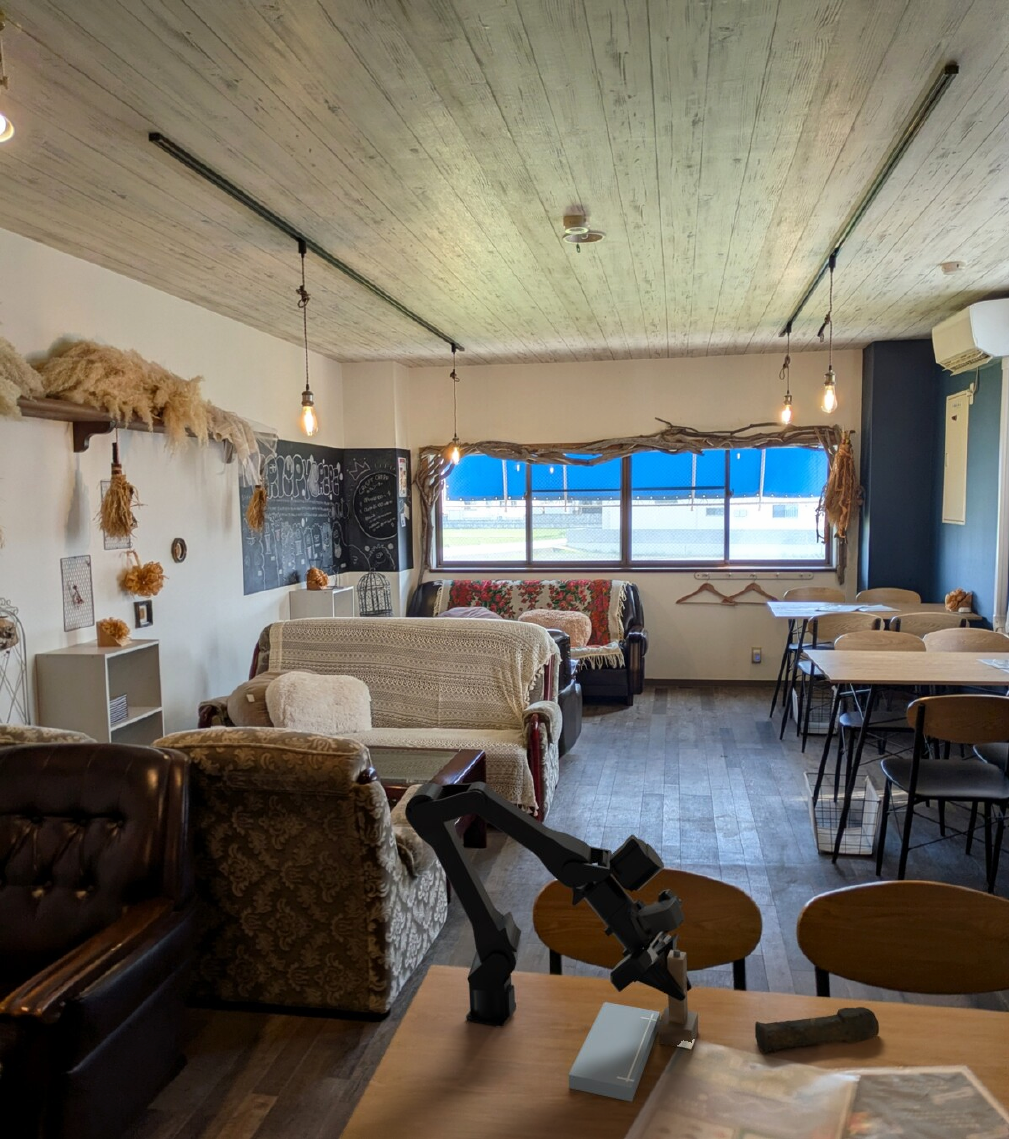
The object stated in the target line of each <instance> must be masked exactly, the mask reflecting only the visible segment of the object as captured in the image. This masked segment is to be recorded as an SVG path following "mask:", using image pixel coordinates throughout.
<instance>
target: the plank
mask: <svg viewBox="0 0 1009 1139" xmlns="http://www.w3.org/2000/svg"><path fill="white" fill-rule="evenodd" d="M660 1019H661V1012H660V1011H655V1010H650V1009H644V1008H639V1007H634V1006H628V1005H625V1004H624V1005H623V1004H616V1003H612V1002H606V1001H604V1002H603V1004H602V1007H601V1008H600V1010H599V1011H598V1013H597V1016H596V1017H595V1020H594V1022H593V1024H592V1026H591V1029H590V1030H589V1032H588V1034H587V1037H586V1039H585V1040H584V1042H583V1045H582V1047H581V1048H580V1050H579V1052H578V1054H577V1057H576V1059H575V1061H574V1063H573V1065H572V1067H571V1069H570V1071H569V1073H568V1089H571V1090H576V1091H582V1092H585V1093H589V1094H590V1093H591V1094H594V1095H595V1094H596V1095H600V1096H604V1097H609V1098H613V1099H617V1100H621V1101H622V1100H623V1101H626V1102H632V1103H633V1100H634V1098H635V1094H636V1092H637V1089H638V1086H639V1083H640V1080H641V1077H642V1075H643V1072H644V1069H645V1067H646V1064H647V1061H648V1058H649V1056H650V1053H651V1050H652V1048H653V1045H654V1043H655V1039H656V1036H657V1034H658V1033H659V1026H658V1024H659V1022H660Z"/></svg>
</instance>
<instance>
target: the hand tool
mask: <svg viewBox="0 0 1009 1139" xmlns="http://www.w3.org/2000/svg"><path fill="white" fill-rule="evenodd" d="M754 1031H755V1032H754V1033H755V1034H754V1037H755V1041H756V1044H757V1046H758V1047H759V1049H760V1051H761V1052H762V1053H764V1054H767V1053H768V1052H769V1051H772V1052H773V1053H776V1052H777V1051H778V1049H779V1050H781V1049H785V1048H786V1049H787V1048H792V1047H798V1046H799V1047H801V1046H811V1045H817V1044H822V1043H830V1042H843V1043H844V1044H847V1045H851V1044H857V1043H861V1042H864V1041H867V1040H870V1039H871V1038H873V1037H876V1036H878V1035H879V1031H880V1025H879V1020H878V1019H877V1017H876V1014H875V1012H874V1011H872V1009H871V1010H870V1009H869V1008H867V1007H866V1006H865V1007H864V1006H858V1007H843V1008H839V1009H838V1010H837V1012H836V1014H832V1015H827V1016H820V1017H818V1016H817V1017H810V1018H801V1019H794V1020H785V1021H773V1022H767V1023H765V1022H759V1021H756V1022H755V1024H754Z"/></svg>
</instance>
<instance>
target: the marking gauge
mask: <svg viewBox="0 0 1009 1139" xmlns="http://www.w3.org/2000/svg"><path fill="white" fill-rule="evenodd" d="M667 966H668V970H669V972H670V973H671V975H672V976H673V978H674V979H675V980H676V982H677V983H678V985H679V986H680V988H681V989H682V991H683V992H684V994H685V996H686V998H685V999H684V1000H682V1001H679V1000H677V999H675V998H673V997H671V996H669V995H667V998H668V999H667V1001H668V1004H667V1005H668V1006H665V1008H664V1010H663V1012H662V1014H661V1016H660V1022H659V1024H658V1026H659V1029H658V1044H660V1045H667V1046H671V1047H675V1048H678V1047H677V1045H679V1044H680V1043H681V1041H683V1040H684V1041H688V1042H691V1043H692V1040H693V1039H697V1036H698V1033H699V1012H697V1011H691V1010H689V1008H688V1006H689V1005H688V991H687V977H688V974H687V973H688V971H687V970H688V968H687V966H688V965H687V952H685V951H680V949H676V950H670V953H669V955H668V957H667Z"/></svg>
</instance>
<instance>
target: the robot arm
mask: <svg viewBox="0 0 1009 1139" xmlns="http://www.w3.org/2000/svg"><path fill="white" fill-rule="evenodd" d="M473 814H476V815H477V816H479V818H481V819H483V820H485V821H486V822H487V823H489V824H491V825H492V826H493V827H494V828H496V829H497V830H499V831H500V832H502V833H504V834H505V835H506V836H508V837H510V838H511V839H512V840H513V841H515V842H516V843H518V844H520V845H521V846H523V848H525V849H527V850H528V851H530V852H531V853H532V854H534V855H535V857H537V858H538V859H539V861H541V863H542V864H543V866H544V867H545V869H546V871H548V873H550V874H551V875H552V876H553V877H554V878H555V879H556V880H557V881H558V883H560V884H561V885H562V886H564V887H566V888H568V889H571V890H572V900H571V904H572V906H574V907H575V906H577V905H578V904H579V903H580V902H581V901H583V899H584V900H585V901H586V902H587V904H588V905H589V906H590V908H592V910H593V911H594V912H595V913H596V915H597V916H598V917H599V919H601V921H602V922H603V923H604V925H605V926H606V928H605V929H604V931H603V933H604V934H605V935H606V936H607V937H610V936H611V935H612V934H613V936H614V937H615V938H616V939H617V941H618V942H619V943H620V945H621V946H623V948H624V950H623V951H622V952H621V955H622V956H623V957H624V958H623V959H622V960H620V961H619V962H617V964H616V965H615V967H614V968H612V970H611V972H610V973H609V974H610V975H609V976H610V978H609V979H610V983H611V984H612V986H613V987H614V988H615V989H616V991H617V992H618V993H620V992H622V991H623V990H624V989H626V988H627V987H628V986H630V985H631V984H632V983H636V982H639V983H641V984H644V985H646V986H647V987H648V986H649V987H651V988H652V989H655V990H657V991H659V992H661V993H663V994H665V995H667V996H668V995H669V996H671V997H673V998H675V999H677V1000H679V1001H682V1000H684V999H685V998H686V996H685V994H684V992H683V991H682V989H681V988H680V986H679V985H678V983H677V982H676V980H675V979H674V978H673V976H672V975H671V973H670V972H669V970H668V966H667V957H668V955H669V953H670V950H677V946H678V945H677V942H678V937H679V934H678V932H676V933H675V934H673V935H672V936H671V935H670V934H669V933H670V932H672V931H674V930H676V929H678V928H679V927H680V926H681V924H682V923H683V921H684V920H685V915H684V913H683V911H682V908H681V907H682V906H683V904H684V903H683V900H682V899H680V898H679V897H678V895H676V894H675V893H674V892H673V891H672V890H671V889H670V888H668V889H665V890H662V891H661V892H660V893H659V894H658V895H657V898H658V899H657V900H656V901H654V902H653V903H652V904H650V905H647V904H646V903H645V902H644V901H643V900H642V899H639V898H638V899H637V900H636V901H634V900H633V898H632V897H631V896H630V895H629V894H628V893H627V891H629V892H630V893H632V892H634V891H635V892H638V891H639V890H641V889H642V888H643V887H644V886H645V885H646V884H647V883H649V882H650V881H651V880H652V879H653V878H654V877H655V876H656V875H658V873H660V872H661V871H662V870H663V869H664V868H665V864H664V862H663V860H662V859H661V856H660V854H658V853H657V852H656V850H655V848H654V847H652V845H650V844H649V843H646V841H644V840H643V839H640V838H638V837H636V835H635V834H632V833H631V835H629V836H628V837H627V838H626V839H625V841H624V842H623V843H622V844H621V845H620V846H619V847H617V849H616V850H615V851H613V852H612V850H611V849H607V848H600V847H595V846H591V845H589V844H588V843H587V842H585V840H582V839H580V838H577V837H575V836H573V835H571V834H569V833H566V832H561V831H557V830H553V829H552V828H549V827H547V826H546V825H545V824H543V823H542V822H541V821H539V820H537V819H536V818H534V817H533V816H531V815H530V814H529V813H527V812H525V811H524V810H523V809H521V808H519V806H517V805H516V804H514V803H512V802H511V801H510V800H508V799H506V798H505V797H503V796H502V795H501V794H499V793H498V792H496V791H495V790H493V789H492V788H491V787H490V786H489V784H487V783H486V782H483V781H475V782H469V783H460V782H458V783H455V782H454V783H447V784H437V783H434V782H427V783H423V784H422V785H420V786H419V787H418V788H417V789H416V790H415V792H414V793H413V795H412V796H411V798H410V799H409V800H408V802H407V803H406V805H405V809H404V816H405V818H406V821H407V822H408V824H409V825H410V827H411V828H412V829H413V830H414V833H416V835H417V836H418V837H419V838H420V839H421V840H422V841H423V842H425V843H426V845H428V846H430V847H431V848H432V850H433V851H434V854H435V856H436V858H437V859H438V862H439V863H440V865H441V867H442V870H443V871H444V873H445V875H446V877H447V880H448V881H449V884H450V886H451V888H452V889H453V892H454V893H455V895H456V897H457V898H458V901H459V902H460V905H461V907H462V909H463V910H464V912H465V915H466V916H467V918H468V921H469V922H470V924H471V927H472V931H473V940H474V945H475V949H476V950H475V955H474V957H473V961H472V964H471V966H470V969H469V972H468V976H467V982H468V992H469V1011H468V1013H466V1016H465V1020H466V1019H467V1020H466V1021H468V1020H469V1021H470V1022H474V1023H479V1024H483V1025H491V1026H495V1027H499V1028H500V1027H501V1028H502V1027H504V1025H505V1024H506V1022H507V1021H508V1020H509V1018H511V1016H512V1014H513V1013H514V1011H515V1009H516V1008H517V1002H516V995H515V985H514V984H512V975H511V974H512V973H513V972H514V971H515V969H516V966H517V962H518V957H519V953H520V949H521V943H522V942H521V940H522V939H521V935H522V930H521V929H520V928H519V927H518V926H517V924H516V922H515V920H514V916H513V914H512V912H511V911H508V912H506V913H505V914H503V913H501V912H500V911H499V910H497V908H496V907H495V906H494V904H493V901H492V900H491V898H490V895H489V894H488V892H487V890H486V888H485V886H484V884H483V882H482V880H481V878H480V877H479V874H478V872H477V869H476V868H475V866H474V864H473V863H472V862H473V861H471V858H470V856H469V854H468V853H467V850H466V848H465V847H464V845H463V843H462V841H461V839H460V837H459V835H458V833H457V830H456V829H457V828H456V823H455V819H459V818H461V817H464V816H468V815H473ZM692 988H693V987H692V984H691V981H690V979H689V977H688V976H687V992H689V991H690V990H691V989H692Z"/></svg>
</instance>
